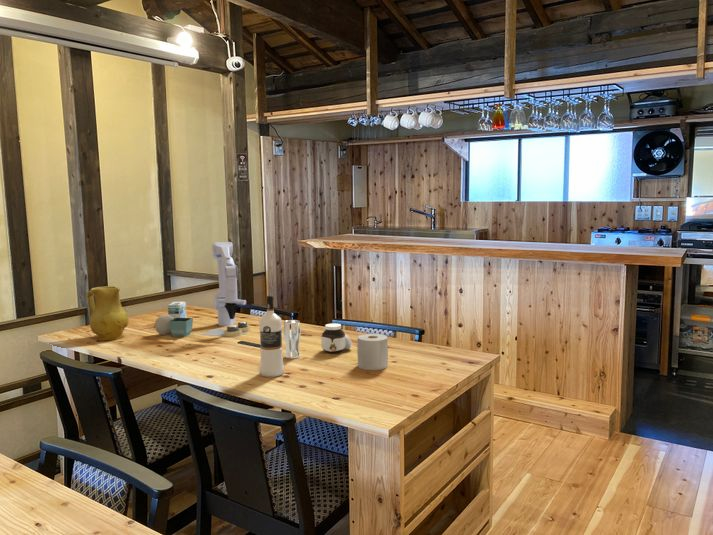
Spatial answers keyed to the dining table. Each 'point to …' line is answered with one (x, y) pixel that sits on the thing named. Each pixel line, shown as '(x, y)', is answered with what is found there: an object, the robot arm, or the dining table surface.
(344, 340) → the spread jar
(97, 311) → the pitcher
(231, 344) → the dining table surface
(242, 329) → the board
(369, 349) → the toilet paper roll
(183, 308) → the light bulb box
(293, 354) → the beer glass
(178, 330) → the flower pot
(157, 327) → the ball
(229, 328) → the cap
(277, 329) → the vodka
